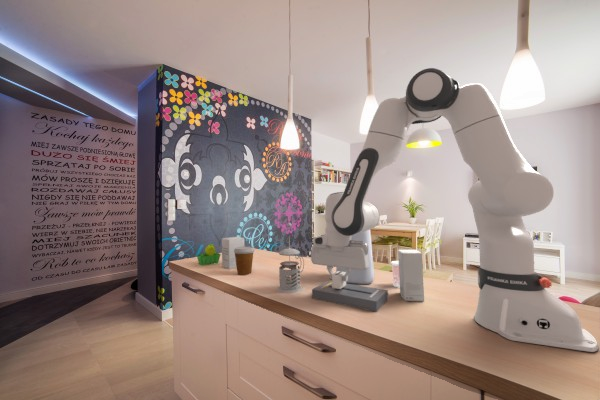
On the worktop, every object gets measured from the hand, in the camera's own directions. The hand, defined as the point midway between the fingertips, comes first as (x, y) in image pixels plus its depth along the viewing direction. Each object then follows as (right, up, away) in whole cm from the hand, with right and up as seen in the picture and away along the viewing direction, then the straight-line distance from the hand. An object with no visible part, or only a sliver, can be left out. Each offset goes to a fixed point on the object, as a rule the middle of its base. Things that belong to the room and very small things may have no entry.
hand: (338, 279), depth 91 cm
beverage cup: (+25, -6, +11) cm, 28 cm away
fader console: (+3, -6, -2) cm, 7 cm away
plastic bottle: (+10, -6, +21) cm, 24 cm away
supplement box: (-48, -8, +47) cm, 68 cm away
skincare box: (+24, -6, -1) cm, 25 cm away
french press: (-17, -6, +10) cm, 20 cm away
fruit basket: (-63, -8, +55) cm, 84 cm away
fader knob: (0, -2, 0) cm, 2 cm away
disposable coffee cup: (-39, -7, +33) cm, 52 cm away
